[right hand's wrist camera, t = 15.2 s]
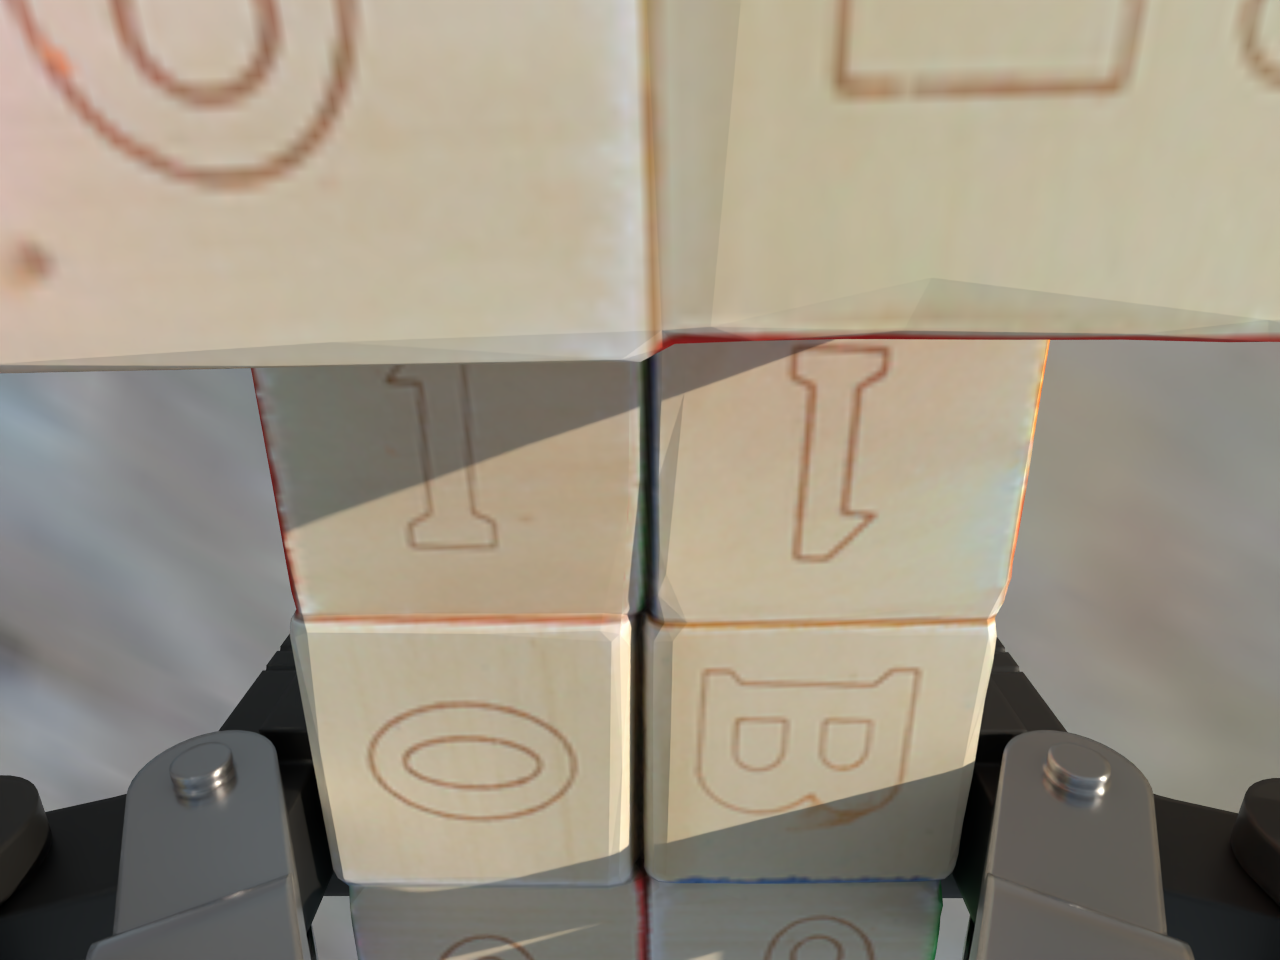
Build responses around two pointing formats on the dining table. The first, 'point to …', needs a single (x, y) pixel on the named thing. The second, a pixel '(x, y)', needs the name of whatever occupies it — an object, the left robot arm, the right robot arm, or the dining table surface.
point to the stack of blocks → (638, 400)
